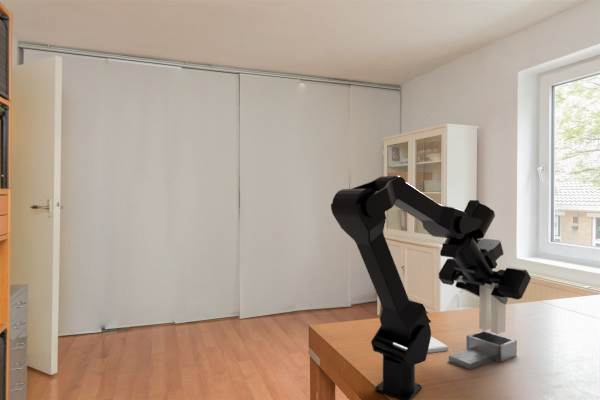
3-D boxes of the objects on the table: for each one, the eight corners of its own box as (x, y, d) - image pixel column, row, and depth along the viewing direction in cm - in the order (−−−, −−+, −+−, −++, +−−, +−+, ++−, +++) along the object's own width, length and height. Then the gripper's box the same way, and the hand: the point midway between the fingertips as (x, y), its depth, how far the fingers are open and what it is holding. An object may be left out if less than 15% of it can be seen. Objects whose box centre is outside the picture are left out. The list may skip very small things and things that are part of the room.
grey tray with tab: (476, 372, 80) (477, 355, 80) (442, 358, 86) (442, 343, 86) (518, 355, 89) (518, 339, 89) (484, 343, 95) (484, 329, 95)
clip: (497, 333, 87) (498, 277, 87) (479, 328, 90) (479, 273, 90) (505, 331, 88) (505, 275, 88) (486, 326, 92) (487, 272, 92)
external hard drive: (448, 353, 91) (399, 358, 88) (427, 340, 99) (382, 345, 96) (448, 346, 91) (399, 351, 88) (427, 334, 99) (382, 338, 96)
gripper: (526, 230, 79) (552, 279, 85) (446, 224, 95) (473, 266, 101) (504, 273, 75) (533, 322, 81) (424, 260, 91) (453, 301, 97)
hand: (495, 300), depth 90 cm, fingers closed on clip, 4 cm apart
